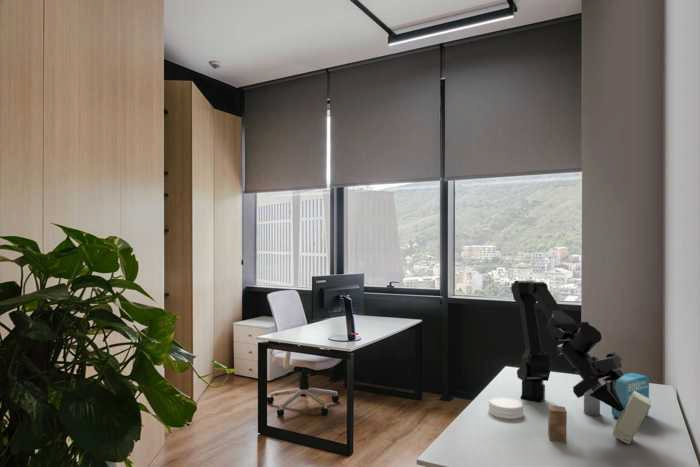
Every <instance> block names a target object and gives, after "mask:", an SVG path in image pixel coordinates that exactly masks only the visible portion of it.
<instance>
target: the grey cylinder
mask: <svg viewBox="0 0 700 467" xmlns="http://www.w3.org/2000/svg"><path fill="white" fill-rule="evenodd" d="M591 393H593V392H592V389H590V390H589V391H587V392H586V393H584V396H583V413H584V414H585V415H589V416H592V417H599V416H600V415H601V401H600V400H598V399H596V398H594V397H593V396H590V394H591Z"/></svg>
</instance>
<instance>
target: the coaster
mask: <svg viewBox="0 0 700 467" xmlns="http://www.w3.org/2000/svg"><path fill="white" fill-rule="evenodd" d="M524 407H525V406H524V404H523V403H522V402H521V401H519V400H517V399H515V398H514V399H513V398H510V397H502V396H500V397H497V396H496V397H492V398H491V399H489V400H488V412H489V414H490V415H492V416H494V417H496V418H499V417H500V418H499V419H503V418H505V419H504V420H519V419H521V418H523V416H524ZM518 418H519V419H518Z"/></svg>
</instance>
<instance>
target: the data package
mask: <svg viewBox="0 0 700 467" xmlns="http://www.w3.org/2000/svg"><path fill="white" fill-rule="evenodd" d="M623 374H624V375H623V376H622V377H621V378H619V379H618V380H617V382H616V384H615V390H616V392H617V395H618V397H619V399H620V401H621V404H622V406H623V408H624V407H625V405H626V404H627V402H628V400H629V398H630V396H631V395H632V393H633V391H636V392H638V393H640V394H642V395H643V396H645V397H647V398H649V399H650V379H649V376H647V375H644V374H643V375H642V374H639V373H635V372H629V373H623ZM649 410H650V409H649ZM649 410H648V412H647V414H646V416H647V415H649V412H650V411H649ZM621 413H622V411H621V412H619V411H618V410H616V409H614V408H612V407H611V415H612V416H613V417H614V418H619V416H620V415H621ZM646 416H645V417H646Z"/></svg>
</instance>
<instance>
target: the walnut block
mask: <svg viewBox="0 0 700 467" xmlns="http://www.w3.org/2000/svg"><path fill="white" fill-rule="evenodd" d="M567 414H568V413H567V410H566V407H565V406H559V405H552V404H551V405H550V404H548V416H547V417H548V418H547V420H548V422H547V424H548V425H547V431H548V432H547V436H548V439H549V440H548V441H550V442H555V443H564V444H566V443H567V435H568V434H567V432H568V430H567V427H568V426H567V424H568V422H567V418H568V417H567V416H568V415H567Z"/></svg>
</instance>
